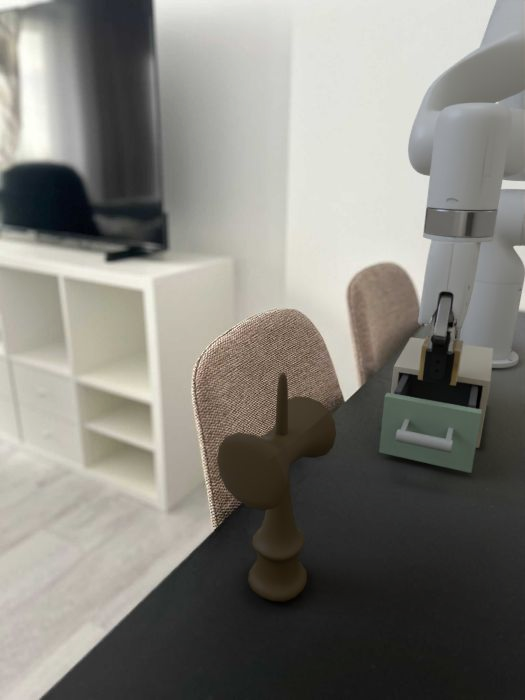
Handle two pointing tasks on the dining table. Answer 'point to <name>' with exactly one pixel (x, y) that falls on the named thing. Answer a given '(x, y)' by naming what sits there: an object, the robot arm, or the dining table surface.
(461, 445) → the green drawer
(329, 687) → the dining table surface
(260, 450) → the kendama
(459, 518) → the dining table surface
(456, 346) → the block
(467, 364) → the small drawer cabinet
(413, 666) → the dining table surface
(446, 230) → the robot arm
